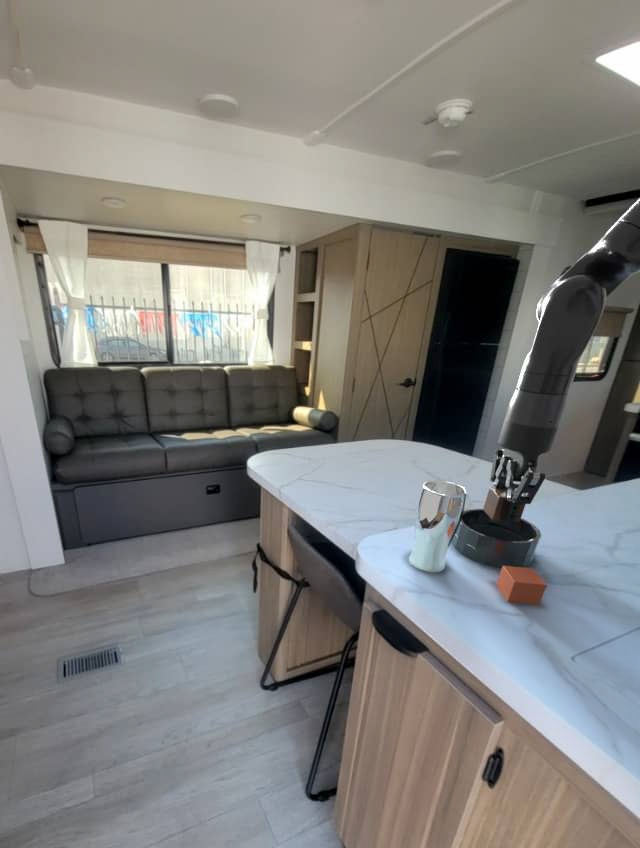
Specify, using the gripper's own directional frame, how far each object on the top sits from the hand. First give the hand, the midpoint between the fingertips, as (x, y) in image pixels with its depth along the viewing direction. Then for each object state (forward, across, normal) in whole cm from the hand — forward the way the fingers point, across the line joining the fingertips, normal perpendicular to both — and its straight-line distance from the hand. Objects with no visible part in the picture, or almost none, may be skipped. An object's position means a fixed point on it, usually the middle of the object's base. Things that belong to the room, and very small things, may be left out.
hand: (501, 514), depth 72 cm
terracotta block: (+8, -14, +1) cm, 16 cm away
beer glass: (+8, -7, +13) cm, 17 cm away
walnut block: (0, 0, 0) cm, 0 cm away
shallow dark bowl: (+8, 0, 0) cm, 8 cm away
